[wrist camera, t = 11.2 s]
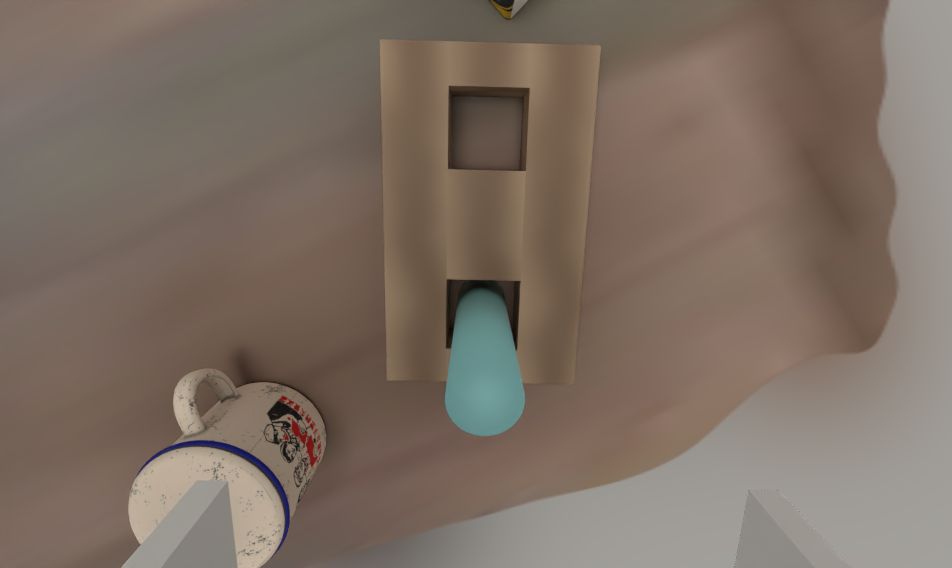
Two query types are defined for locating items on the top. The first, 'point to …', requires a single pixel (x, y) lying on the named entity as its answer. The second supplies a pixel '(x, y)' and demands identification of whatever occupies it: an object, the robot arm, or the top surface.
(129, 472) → the top surface
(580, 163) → the walnut hole block
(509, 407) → the teal peg
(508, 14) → the medicine bottle
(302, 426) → the teacup with lid
